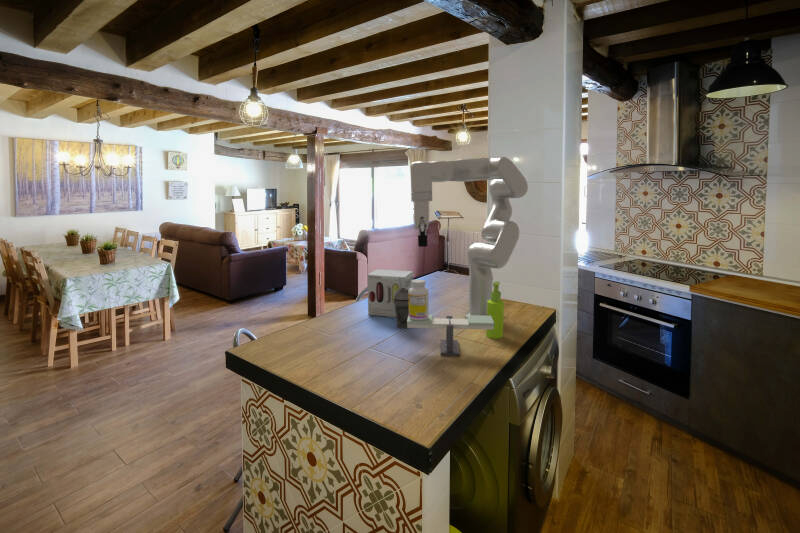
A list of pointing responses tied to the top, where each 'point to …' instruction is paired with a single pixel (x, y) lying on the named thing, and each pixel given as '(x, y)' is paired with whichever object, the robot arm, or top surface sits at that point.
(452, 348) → the pivot stand
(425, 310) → the supplement bottle
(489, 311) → the soap dispenser
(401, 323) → the beverage cup
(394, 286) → the supplement box
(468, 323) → the beam
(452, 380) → the top surface
